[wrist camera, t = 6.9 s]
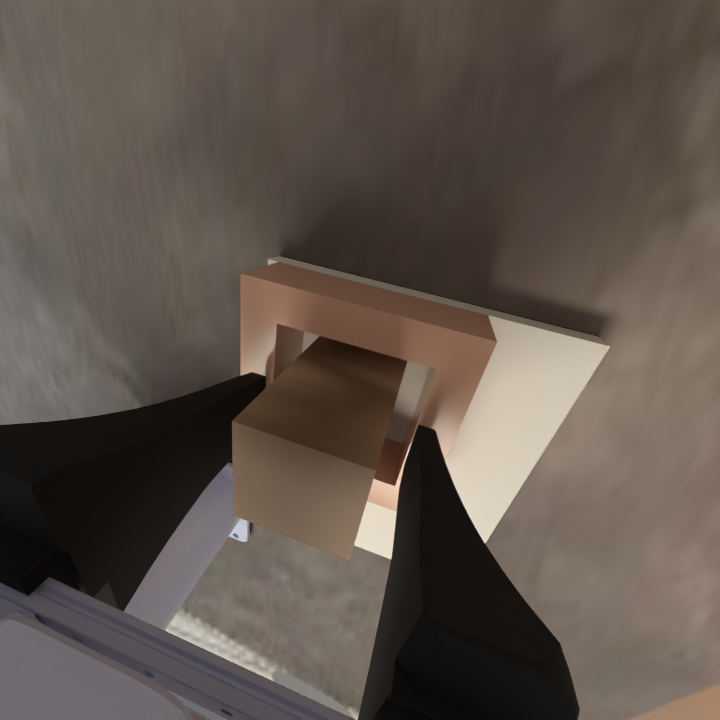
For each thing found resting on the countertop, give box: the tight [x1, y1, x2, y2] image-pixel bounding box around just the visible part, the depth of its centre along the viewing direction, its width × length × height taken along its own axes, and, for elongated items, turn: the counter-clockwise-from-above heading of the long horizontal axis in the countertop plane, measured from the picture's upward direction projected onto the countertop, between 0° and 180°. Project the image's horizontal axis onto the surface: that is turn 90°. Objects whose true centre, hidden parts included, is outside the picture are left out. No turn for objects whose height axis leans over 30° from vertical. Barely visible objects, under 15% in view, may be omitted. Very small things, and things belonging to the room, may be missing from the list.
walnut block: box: [232, 336, 407, 561], centre depth 12 cm, size 4×4×7 cm
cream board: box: [268, 256, 610, 559], centre depth 17 cm, size 14×17×1 cm
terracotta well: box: [240, 262, 497, 512], centre depth 14 cm, size 9×9×3 cm
